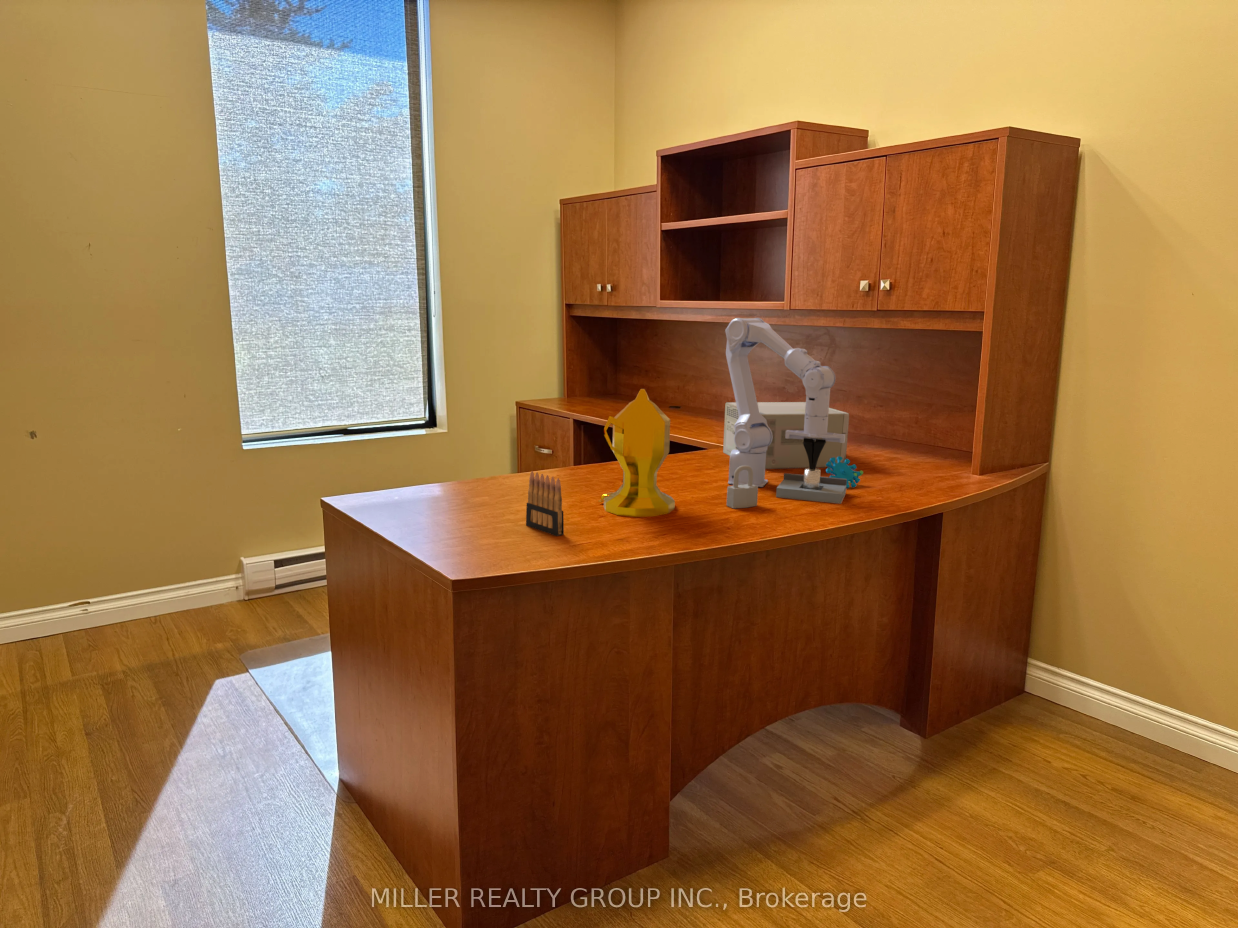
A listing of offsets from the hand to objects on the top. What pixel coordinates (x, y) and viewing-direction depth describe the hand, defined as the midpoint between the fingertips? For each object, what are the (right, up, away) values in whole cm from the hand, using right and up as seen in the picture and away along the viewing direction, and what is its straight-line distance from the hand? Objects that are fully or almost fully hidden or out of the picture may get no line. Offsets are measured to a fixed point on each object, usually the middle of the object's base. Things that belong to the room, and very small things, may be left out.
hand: (812, 468), depth 215 cm
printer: (+2, +2, +50) cm, 50 cm away
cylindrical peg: (0, -7, +1) cm, 7 cm away
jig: (0, -7, +2) cm, 7 cm away
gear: (+12, -5, +15) cm, 20 cm away
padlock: (-19, -9, -11) cm, 24 cm away
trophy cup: (-45, -9, -14) cm, 48 cm away
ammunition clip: (-65, -13, -35) cm, 75 cm away
